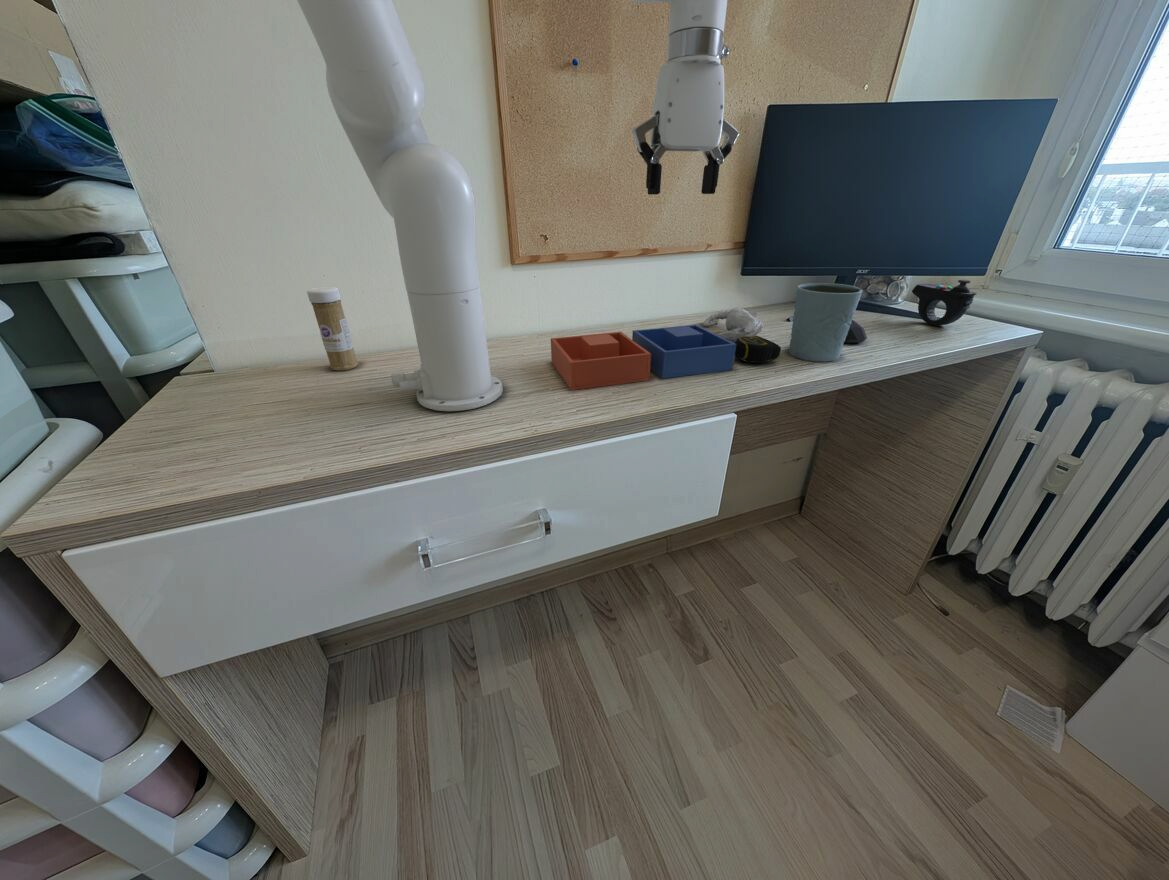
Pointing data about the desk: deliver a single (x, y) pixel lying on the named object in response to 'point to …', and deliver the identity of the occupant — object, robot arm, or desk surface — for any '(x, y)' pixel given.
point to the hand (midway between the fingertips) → (681, 194)
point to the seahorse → (736, 323)
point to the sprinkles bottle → (333, 327)
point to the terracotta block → (599, 347)
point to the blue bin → (686, 353)
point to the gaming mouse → (855, 333)
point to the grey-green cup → (822, 320)
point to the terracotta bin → (600, 363)
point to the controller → (952, 297)
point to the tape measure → (756, 349)
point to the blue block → (681, 338)
